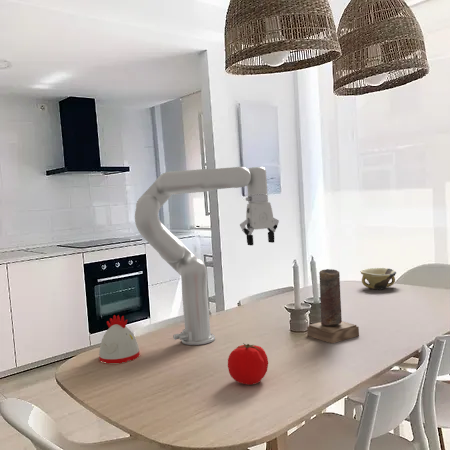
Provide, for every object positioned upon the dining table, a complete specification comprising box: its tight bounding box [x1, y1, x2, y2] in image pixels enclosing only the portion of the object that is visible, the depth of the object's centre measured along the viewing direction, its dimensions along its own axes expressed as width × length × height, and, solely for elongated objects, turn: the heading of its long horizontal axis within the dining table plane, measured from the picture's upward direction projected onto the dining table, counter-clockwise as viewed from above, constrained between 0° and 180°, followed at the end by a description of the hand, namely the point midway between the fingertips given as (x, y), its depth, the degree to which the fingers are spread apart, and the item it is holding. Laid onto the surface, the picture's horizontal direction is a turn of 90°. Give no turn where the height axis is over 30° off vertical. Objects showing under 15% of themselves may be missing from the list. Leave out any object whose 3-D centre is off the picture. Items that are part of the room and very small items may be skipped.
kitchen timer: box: [98, 314, 141, 364], centre depth 172 cm, size 14×14×15 cm
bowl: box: [360, 267, 397, 290], centre depth 255 cm, size 18×18×10 cm
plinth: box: [306, 320, 360, 344], centre depth 179 cm, size 13×13×4 cm
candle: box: [318, 268, 343, 326], centre depth 179 cm, size 8×7×20 cm
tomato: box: [227, 342, 269, 386], centre depth 141 cm, size 12×12×11 cm
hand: (261, 243), depth 190 cm, fingers open, 9 cm apart
